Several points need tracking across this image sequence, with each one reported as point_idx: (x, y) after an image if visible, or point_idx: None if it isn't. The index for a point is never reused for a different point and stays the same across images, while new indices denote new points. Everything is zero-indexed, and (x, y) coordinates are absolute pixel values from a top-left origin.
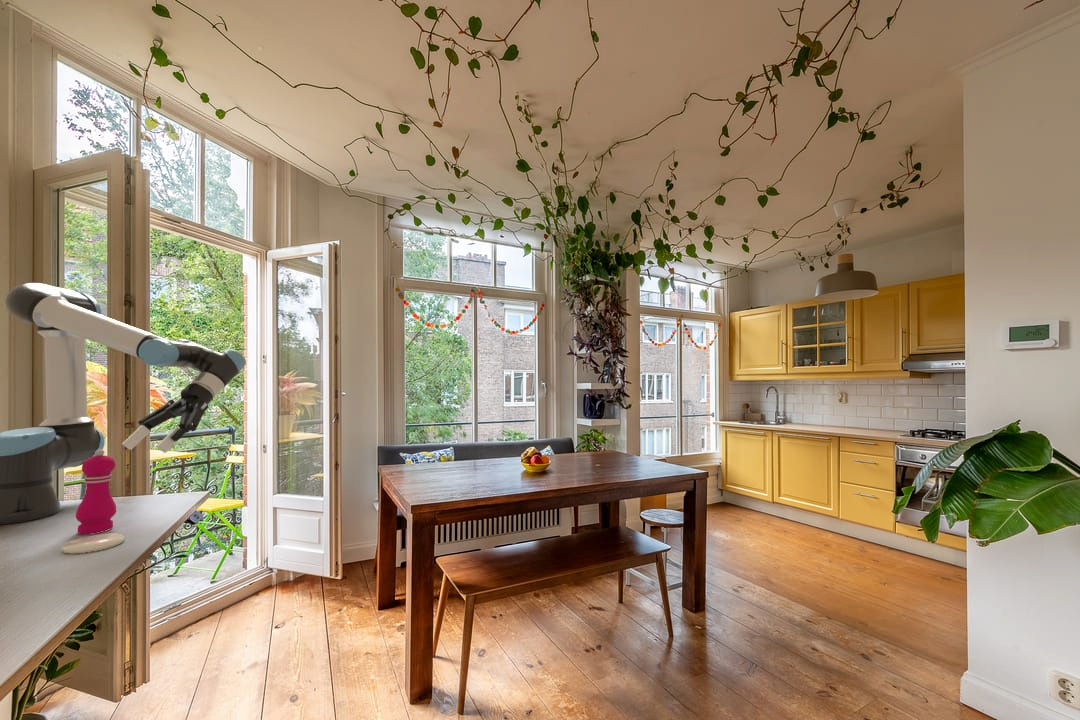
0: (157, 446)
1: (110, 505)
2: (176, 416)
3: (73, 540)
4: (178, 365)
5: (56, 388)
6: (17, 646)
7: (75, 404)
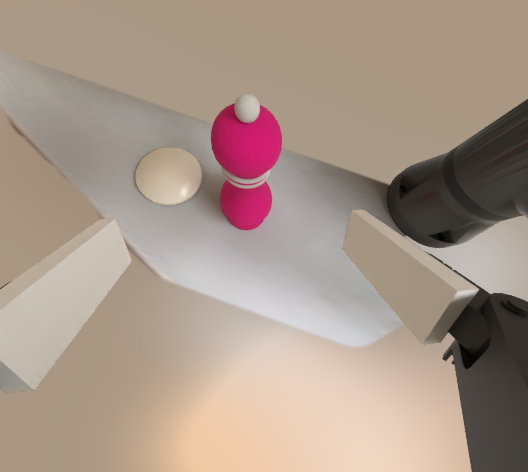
0: (105, 219)
1: (223, 203)
2: None
3: (199, 166)
4: None
5: None
6: None
7: None
